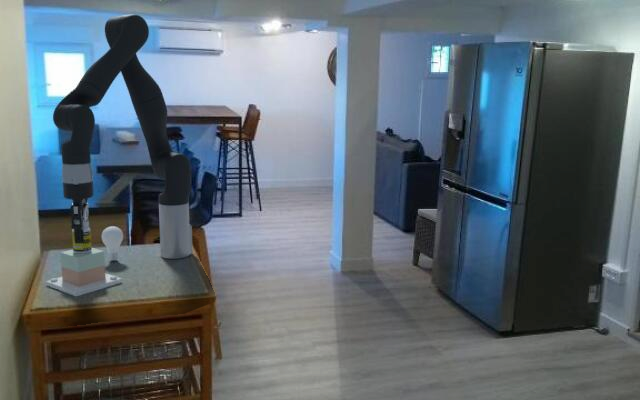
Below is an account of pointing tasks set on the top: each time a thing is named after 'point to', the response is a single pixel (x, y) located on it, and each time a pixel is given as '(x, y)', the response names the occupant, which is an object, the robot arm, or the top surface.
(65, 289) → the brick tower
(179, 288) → the top surface
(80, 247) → the supplement bottle
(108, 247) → the lightbulb
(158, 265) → the top surface
